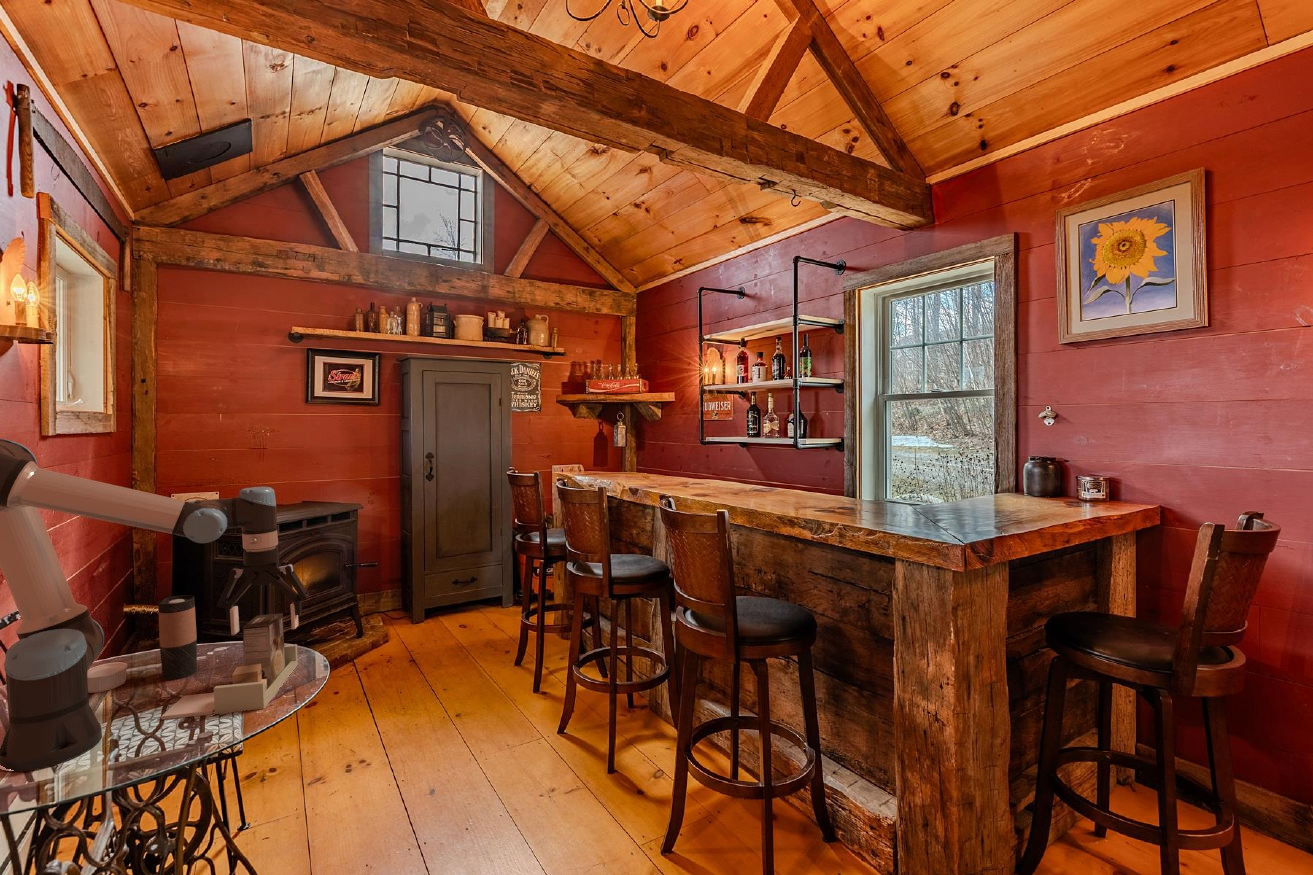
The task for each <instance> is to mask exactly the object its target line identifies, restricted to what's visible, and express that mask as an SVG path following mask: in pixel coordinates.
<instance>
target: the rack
mask: <svg viewBox="0 0 1313 875" xmlns="http://www.w3.org/2000/svg"><path fill="white" fill-rule="evenodd" d="M284 652H285V669H284V670H283V671H282V672H281V674H280V675H279V676H278V677H277V678H276V680H275V681H274V682H273V683H272V684H271V686H270V687H269V688H267V690H266V692H265V681H263V682H252V683H242V684H233V683H232V684H224V685H223V684H222V685H215V687H213V693H214V706H215V712H214V714H215V715H217V714H218V715H219V714H227V712H228V713H235V712H244V711H245V712H246V710H247V711H254V710H263V709H265V708H266V707H267V705H268V704H269V703H270V701H272V699H273V698H274V697H275V695H276V694H277V693H278V691H279V690H280V689H281V688H282V687H283V685H284V684H285V683H286V681H287V680H288V679H289V678H290V676H291V675H292V674H293V673H294V671H295V670H296V669H297V668H296V666H297V665H298V666H299V664H298V663H299V661H298V644H297V643H295V644H286V645H285V644H284ZM298 666H297V667H298ZM295 668H296V669H295ZM294 669H295V670H294ZM293 670H294V671H293ZM292 672H293V673H292ZM291 673H292V674H291ZM290 674H291V675H290ZM289 675H290V676H289ZM288 677H289V678H288ZM287 678H288V679H287ZM286 679H287V680H286ZM285 680H286V681H285ZM284 682H285V683H284ZM283 683H284V684H283ZM280 687H281V688H280ZM279 688H280V689H279ZM243 710H244V711H243Z"/></svg>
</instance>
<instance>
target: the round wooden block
mask: <svg viewBox="0 0 1313 875" xmlns="http://www.w3.org/2000/svg"><path fill="white" fill-rule="evenodd" d="M128 667H129V666H128V663H125V662H122V661H121V662H118V661H117V662H109V663H103V664H100V665H97V666H93V667H92V666H91V667H90V668H89V670H88V673H87V677H88V694H89V693H90V694H91V693H92V694H95V693H103V692H106V691H111V690H114V689H116V688H118V687H120V686H122V685H124V684H125V682H126V681H127V669H128Z"/></svg>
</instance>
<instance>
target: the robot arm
mask: <svg viewBox="0 0 1313 875" xmlns="http://www.w3.org/2000/svg"><path fill="white" fill-rule="evenodd" d="M275 492H276V491H275V489H273V487H269V486H253V487H245V488H242V489H241V490H239V495H238V496H235V497H228V498H214V499H202V500H200V499H196V500H191V501H186V500H182V499H178V498H173V497H169V496H164V495H159V494H155V493H151V492H147V491H142V490H138V489H133V488H130V487H126V486H125V487H124V486H120V485H115V484H110V483H108V482H107V483H106V482H103V481H98V480H93V479H89V478H85V477H80V476H75V475H71V474H66V473H63V472H62V473H61V472H58V471H53V470H49V469H45V468H41V467H40V466H38V460H37V458H36V455H35V454H34V453H33V451H31V450H30V449H29V448H28V447H26V446H25V445H23V444H22V443H20V442H17V441H14V440H13V441H12V440H10V439H4V438H0V569H1V572H2V574H3V577H4V579H5V582H6V583H7V586H8V589H9V591H10V595H11V597H12V599H13V601H14V603H15V606H16V608H17V611H18V613H19V616H20V618H21V620H22V621H21V623H20V625H19V626H18V627H17V629H15V633H16V635H17V638H18V641H16V642H15V643H13V644H12V645H10V647H8V649H7V651H6V653H5V659H4V663H3V668H4V670H3V671H5V683H6V684H5V685H6V696H7V698H6V700H7V714H8V726H7V729H6V732H5V735H4V736H3V740H2V743H1V746H0V765H1V766H3V767H5V768H6V769H11V770H14V771H17V772H20V773H22V772H29V771H35V770H38V769H44V768H47V767H51V766H55V765H57V764H61V763H63V762H66V761H69V760H72V759H73V758H76V757H78V756H81V755H82V754H85V753H87V752H88V751H90V750H92V749H93V748H94V747H95V746H97V745H98V744H99V743H100V742H101V741H102V739H103V729H102V725H101V723H100V722H99V720H98V717H97V716H96V713H94V710H93V709H92V706H91V705H90V701H89V700H90V699H89V697H90V696H89V693H88V677H87V673H88V670H89V669H90V668H92V665H93V664H94V663H95V661H96V660H97V658H98V657H99V655H100V654H101V652H102V651H103V648H104V642H105V633H104V631H103V630H104V629H103V628H102V627H101V624H99V623H98V621H96V620H95V619H93V618H92V615H91V613H90V611H89V608H88V606H87V605H84V604H80V603H77V602H76V600H75V598H74V595H73V593H72V591H71V588H70V585H69V583H68V580H67V578H66V575H65V572H64V570H63V568H62V565H61V562H60V560H59V557H58V555H57V552H56V550H55V547H54V544H53V543H52V542H53V541H52V540H51V537H50V535H49V532H48V530H47V527H46V525H45V521H44V519H43V517H42V514H41V512H40V509H44V510H49V511H53V512H59V513H64V514H69V515H74V516H80V517H84V518H90V519H94V520H98V521H99V520H100V521H104V522H110V523H114V524H115V523H116V524H120V525H124V526H130V527H135V528H139V529H140V528H141V529H145V530H151V531H156V532H161V533H166V534H171V535H174V536H175V535H176V536H179V537H185V538H187V539H188V540H190V541H192V542H194V543H197V544H207V543H212V542H214V541H216V540H218V539H219V538H220V537H221V536H222V535H224V532H225V531H226V530H227V529H238V528H241V537H242V548H243V550H244V551H243V552H242V553H243V554H242V555H243V568H241V569H240V568H238V567H234V568H232V569H231V570H229V576H228V581H227V582H226V585H225V587H224V589H223V590H222V593H221V595H220V596H219V598H218V600H217V602H216V605H215V606H216V607H217V608H222V609H224V610H225V620H226V622H230V633H231V636H235V635H236V634H238V633H239V632H240V621H239V620H240V618H239V606H238V605H235V604H236V603H237V602H238V601H239V599H240V598H241V597H243V595H244V594H245V592H246V591H247V590H248V589H249V588H250V587H251V586H254V587H258V586H260V585H262V586H269V585H270V584H271V585H272V586H274V587H276V588H277V589H278V590H279V591H281V593H283V594H284V595H285V596H286V597H287V598H288V599H289V600H291V604H289V605H290V619H291V620H290V622H291V625H290V626H291V630H296V629H297V627H299V616H300V615H301V614H302V611H303V609H302V602H303V601H306V600H308V598H309V597H310V593H309V591H308V590H307V589H306V587H305V586H304V584H303V583H302V581H301V579H300V578H299V577H298V575H297V573H296V572H295V566H294V564H292V563H289V564H288V565H287V564H286V565H283V566H281V564H280V554H279V547H278V545H279V539H278V538H279V537H278V521H277V520H278V518H277V501H276V500H277V499H276V493H275ZM281 572H283V574H284V575H286V577H287V579H288V581H289V582H290V584H291V586H290V585H289V584H288V583H286V581H284V579H283V578H282V577H281V576H280V573H281ZM242 575H243V577H244V578H245V579H246V580H245V582H244V583H243V584H242V585H241V586H240V587H239V589H238V590H237V591H236V592H235V594H233V595H232V597H231V598H230V599H229V597H230V595H231V593H232V591H233V589H234V587H235V585H236V583H237V581H238V579H239V578H240V577H241V576H242ZM292 587H293V588H294V589H293V588H292ZM228 600H229V601H228ZM17 772H16V773H17Z"/></svg>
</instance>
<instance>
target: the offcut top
mask: <svg viewBox="0 0 1313 875" xmlns="http://www.w3.org/2000/svg"><path fill="white" fill-rule="evenodd" d="M231 676H232V684H242V683H252V682H261V680H262V672H261V664H256V665H249V666H244V665H242V666H238V667H235V670H234V672H232V675H231Z"/></svg>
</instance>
